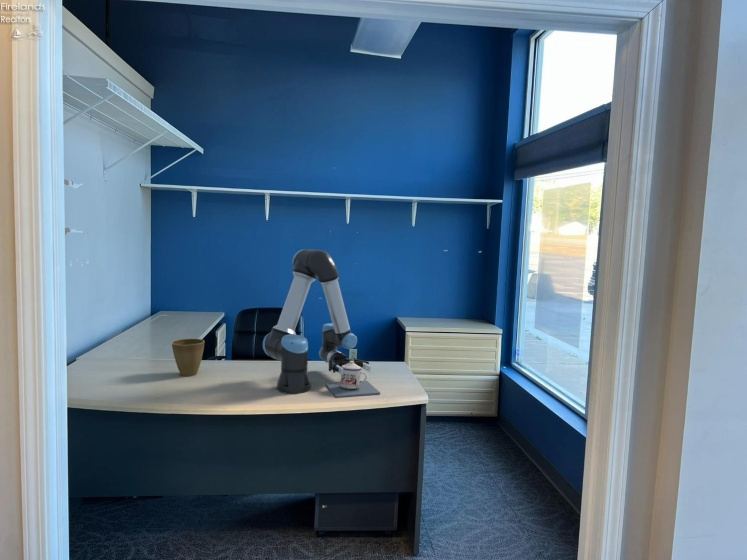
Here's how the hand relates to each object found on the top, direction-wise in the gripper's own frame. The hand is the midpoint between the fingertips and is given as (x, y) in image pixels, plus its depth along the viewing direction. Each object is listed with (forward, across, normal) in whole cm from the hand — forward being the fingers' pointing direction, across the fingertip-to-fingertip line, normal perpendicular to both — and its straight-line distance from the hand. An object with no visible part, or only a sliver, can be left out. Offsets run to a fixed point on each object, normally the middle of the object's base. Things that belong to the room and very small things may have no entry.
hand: (356, 370), depth 236 cm
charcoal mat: (0, +2, -9) cm, 9 cm away
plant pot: (-53, +64, -9) cm, 84 cm away
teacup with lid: (0, +1, -8) cm, 8 cm away
